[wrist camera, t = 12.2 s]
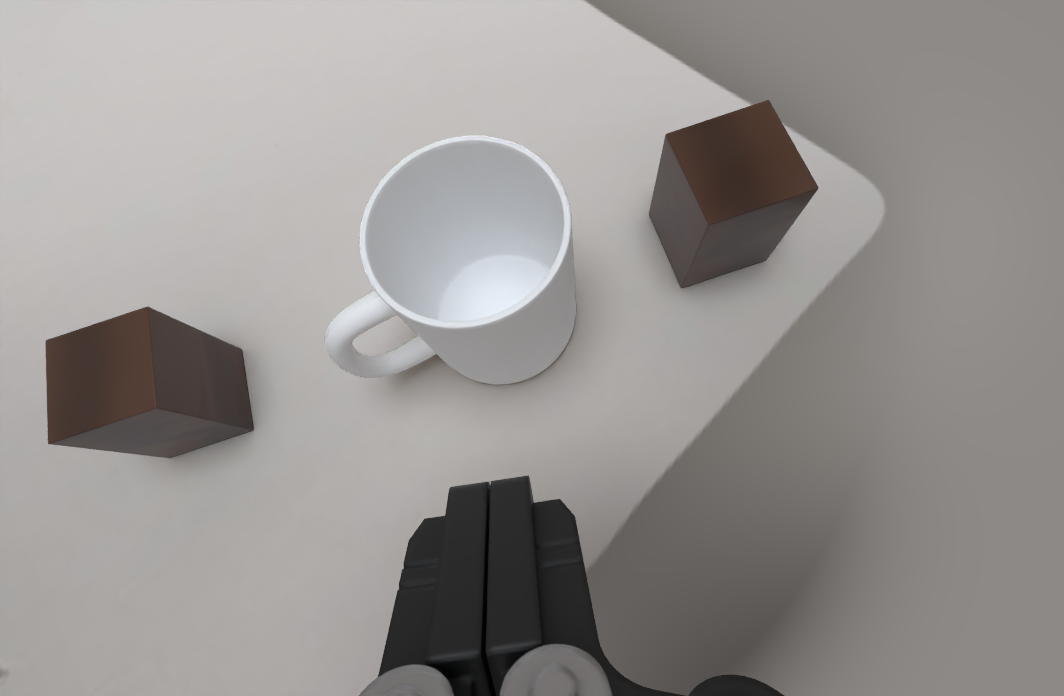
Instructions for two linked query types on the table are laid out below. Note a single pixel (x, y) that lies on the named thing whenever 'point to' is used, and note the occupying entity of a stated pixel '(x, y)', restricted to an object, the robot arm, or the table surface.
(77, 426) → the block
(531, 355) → the cup
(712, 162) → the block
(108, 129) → the table surface
